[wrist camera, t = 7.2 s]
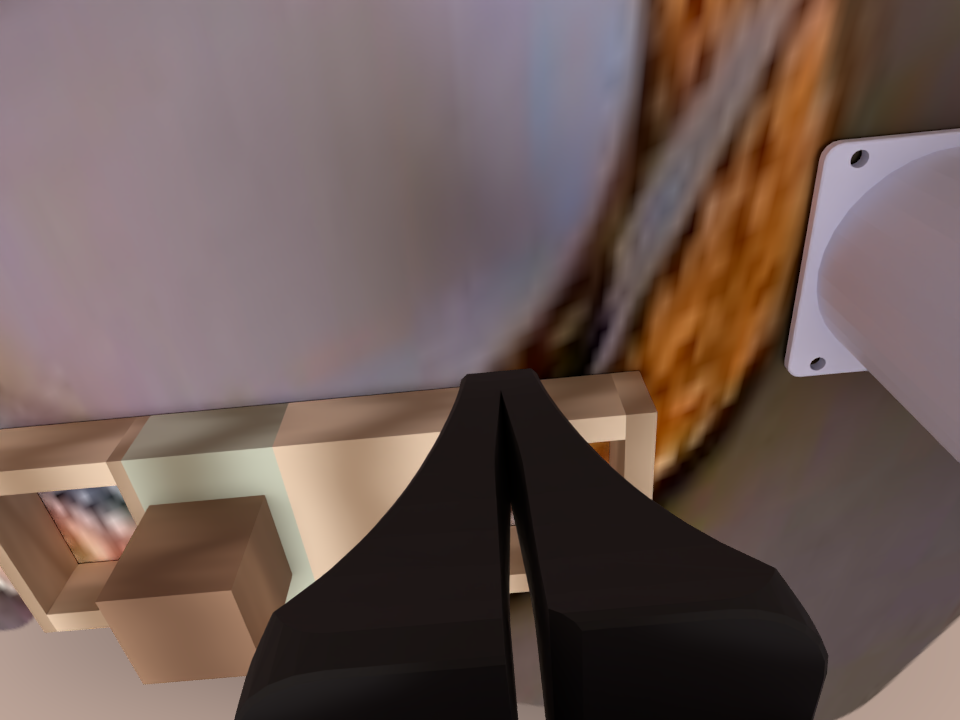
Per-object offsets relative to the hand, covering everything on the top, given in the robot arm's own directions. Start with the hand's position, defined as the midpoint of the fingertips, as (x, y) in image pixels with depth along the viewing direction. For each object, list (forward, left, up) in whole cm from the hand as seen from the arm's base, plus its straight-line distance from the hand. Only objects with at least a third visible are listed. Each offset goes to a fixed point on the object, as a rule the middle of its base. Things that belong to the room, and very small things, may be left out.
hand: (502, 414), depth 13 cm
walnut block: (+10, +10, -7) cm, 16 cm away
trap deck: (+7, +10, -9) cm, 15 cm away
